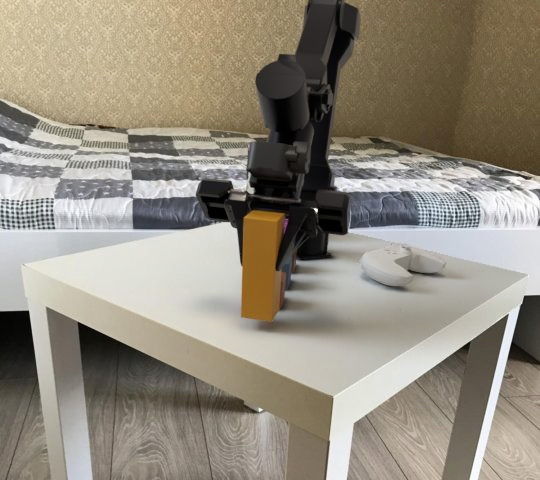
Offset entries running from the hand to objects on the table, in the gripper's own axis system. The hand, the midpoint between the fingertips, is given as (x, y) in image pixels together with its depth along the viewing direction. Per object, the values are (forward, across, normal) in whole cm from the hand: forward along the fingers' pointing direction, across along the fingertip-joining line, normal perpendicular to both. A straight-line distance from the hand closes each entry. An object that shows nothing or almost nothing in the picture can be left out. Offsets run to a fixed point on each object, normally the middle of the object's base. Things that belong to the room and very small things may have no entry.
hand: (259, 267), depth 69 cm
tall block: (+4, 0, +6) cm, 7 cm away
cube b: (-6, -2, +18) cm, 19 cm away
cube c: (-1, -1, +12) cm, 12 cm away
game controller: (-14, +16, +26) cm, 34 cm away
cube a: (-12, -2, +23) cm, 26 cm away
